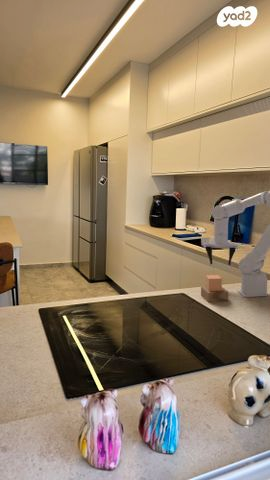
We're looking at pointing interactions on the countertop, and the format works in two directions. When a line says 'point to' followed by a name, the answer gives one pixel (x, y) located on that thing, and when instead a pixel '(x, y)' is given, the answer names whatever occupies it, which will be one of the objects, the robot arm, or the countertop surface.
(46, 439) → the countertop surface
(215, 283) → the terracotta cube
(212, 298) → the walnut block
